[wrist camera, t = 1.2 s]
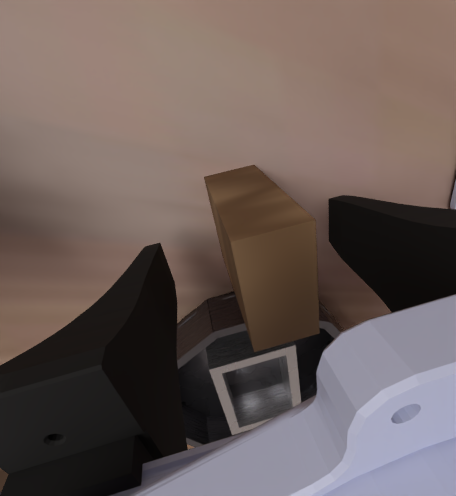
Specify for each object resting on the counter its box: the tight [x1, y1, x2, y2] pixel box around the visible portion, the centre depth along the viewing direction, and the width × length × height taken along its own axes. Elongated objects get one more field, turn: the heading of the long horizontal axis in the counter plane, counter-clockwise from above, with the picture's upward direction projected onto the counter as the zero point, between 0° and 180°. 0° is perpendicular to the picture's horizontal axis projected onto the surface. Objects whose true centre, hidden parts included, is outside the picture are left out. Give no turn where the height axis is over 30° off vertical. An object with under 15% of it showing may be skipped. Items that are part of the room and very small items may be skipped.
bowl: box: [177, 292, 343, 447], centre depth 19 cm, size 13×13×3 cm
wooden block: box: [204, 165, 320, 352], centre depth 12 cm, size 2×4×6 cm, turn 11°
